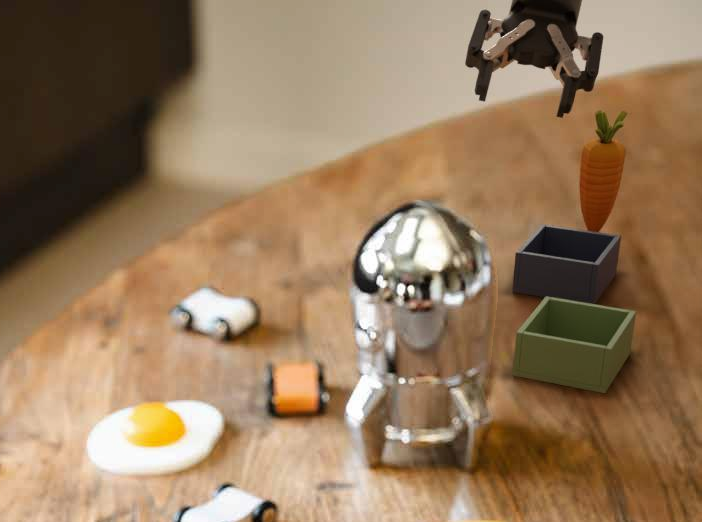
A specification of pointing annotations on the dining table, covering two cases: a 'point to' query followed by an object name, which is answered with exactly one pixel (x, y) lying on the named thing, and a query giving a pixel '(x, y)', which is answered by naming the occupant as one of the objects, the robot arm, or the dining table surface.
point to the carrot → (601, 172)
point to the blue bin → (566, 263)
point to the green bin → (574, 344)
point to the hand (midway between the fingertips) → (522, 104)
